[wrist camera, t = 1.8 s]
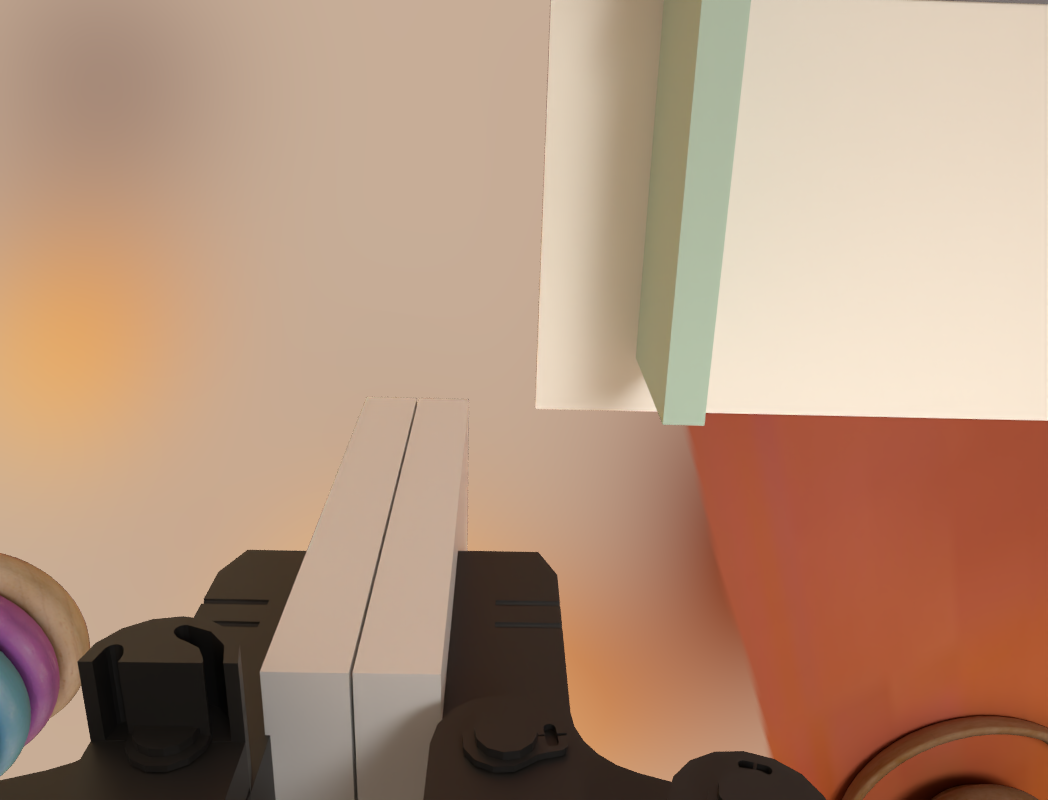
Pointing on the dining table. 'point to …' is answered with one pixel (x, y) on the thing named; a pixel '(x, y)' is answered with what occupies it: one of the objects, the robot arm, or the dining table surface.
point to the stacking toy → (35, 653)
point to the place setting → (965, 796)
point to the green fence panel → (689, 200)
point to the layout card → (816, 210)
